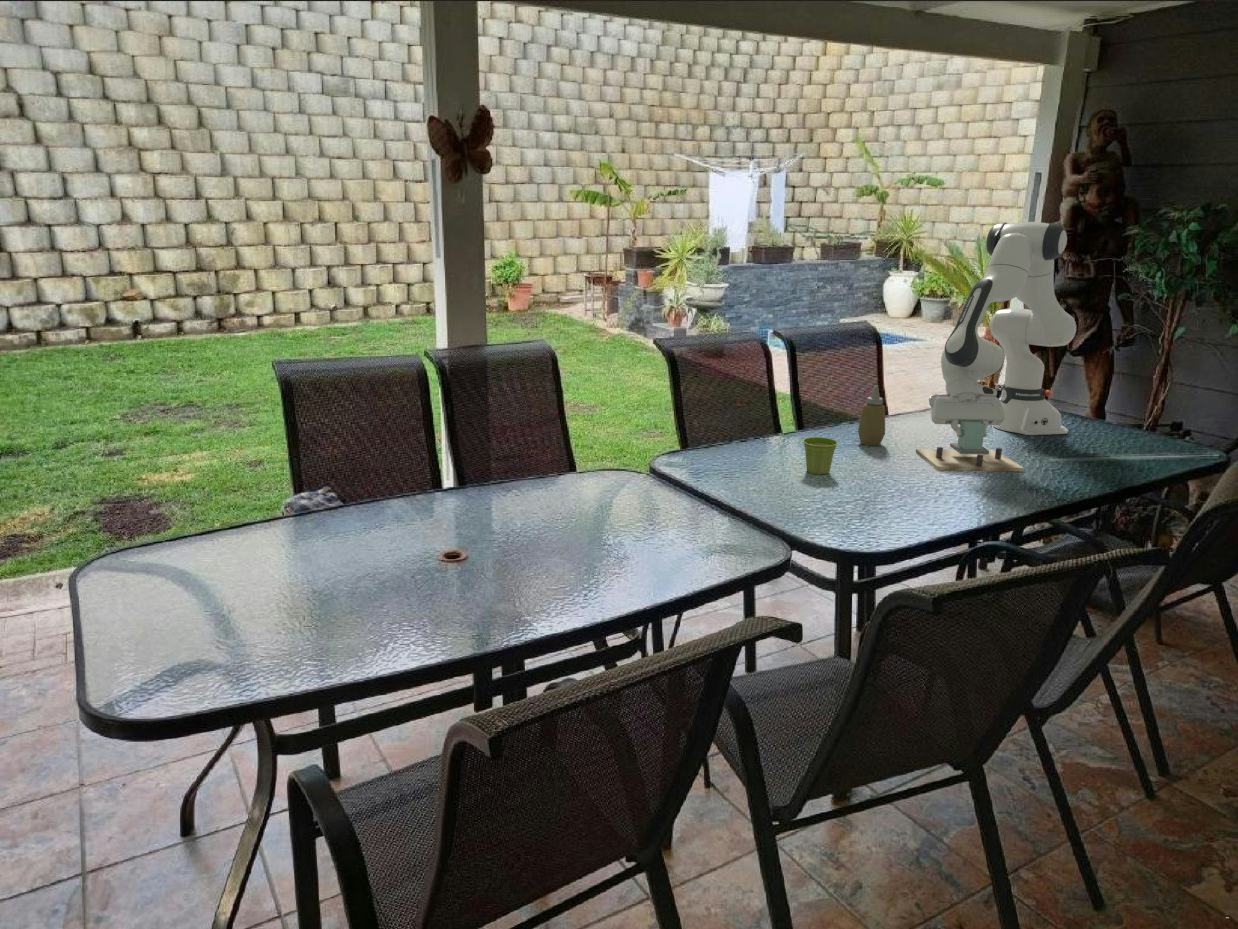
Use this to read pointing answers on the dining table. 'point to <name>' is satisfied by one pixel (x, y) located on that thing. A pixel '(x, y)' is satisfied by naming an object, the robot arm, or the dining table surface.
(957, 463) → the locating board
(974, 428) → the flange block
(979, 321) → the robot arm
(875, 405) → the squeeze bottle
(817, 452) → the plant pot
